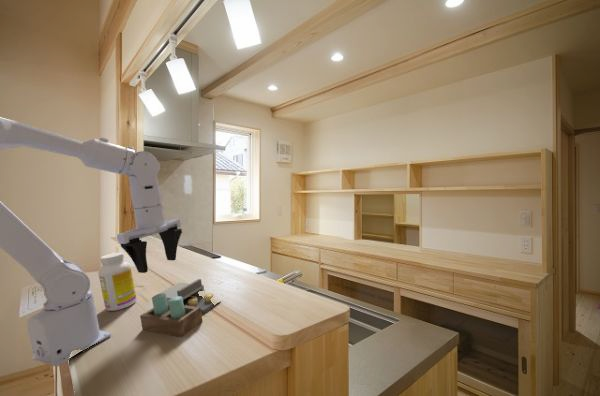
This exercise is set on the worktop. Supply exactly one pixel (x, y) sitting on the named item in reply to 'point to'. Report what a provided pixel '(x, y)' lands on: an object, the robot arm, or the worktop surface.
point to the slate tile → (201, 302)
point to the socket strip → (171, 321)
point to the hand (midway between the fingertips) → (158, 265)
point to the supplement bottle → (116, 282)
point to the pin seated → (160, 304)
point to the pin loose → (176, 307)
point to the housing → (184, 290)
